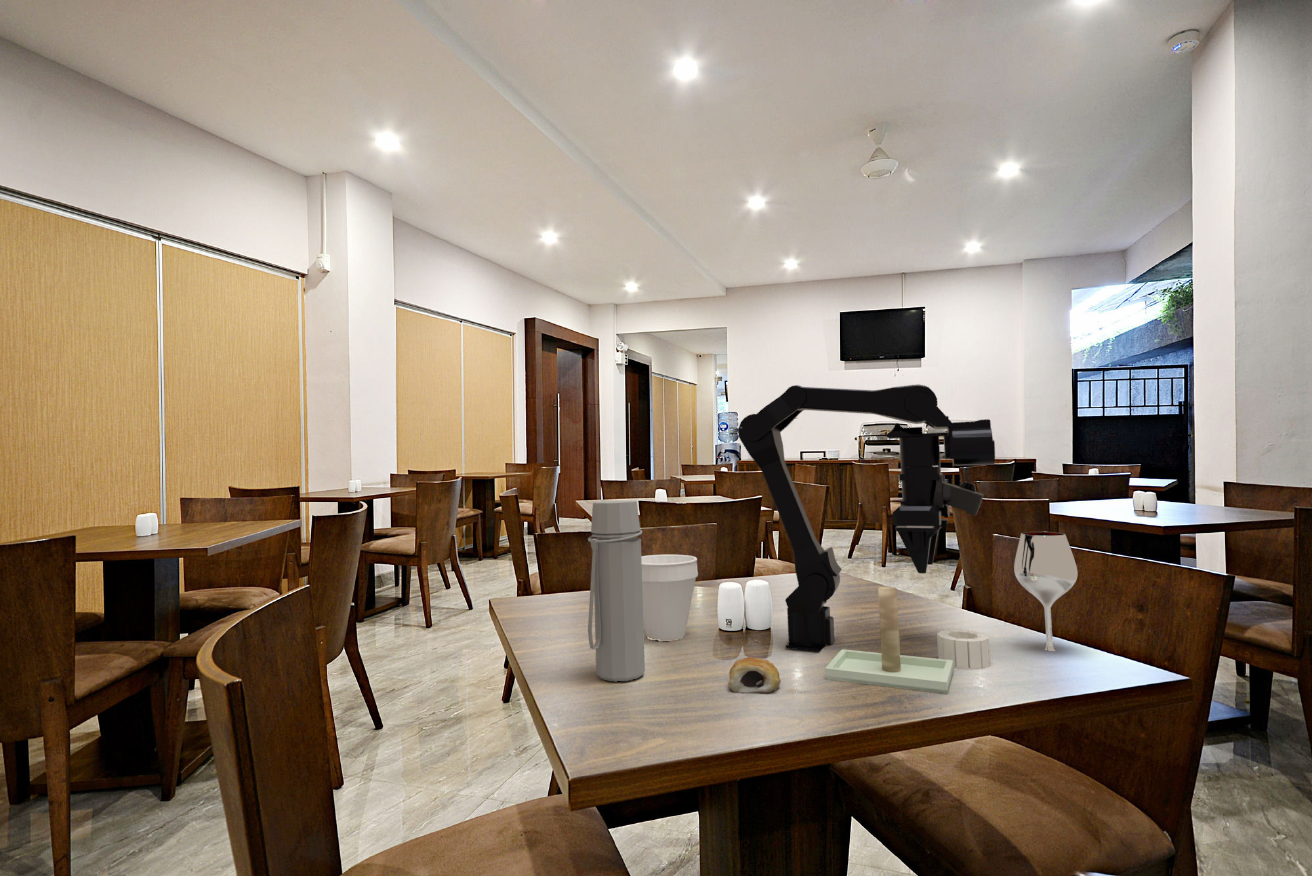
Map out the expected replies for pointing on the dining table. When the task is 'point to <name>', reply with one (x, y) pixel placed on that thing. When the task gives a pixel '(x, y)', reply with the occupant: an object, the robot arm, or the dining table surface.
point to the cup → (667, 594)
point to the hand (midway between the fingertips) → (925, 568)
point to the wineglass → (1045, 570)
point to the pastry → (753, 676)
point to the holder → (964, 648)
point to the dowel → (889, 629)
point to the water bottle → (617, 591)
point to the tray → (912, 675)
